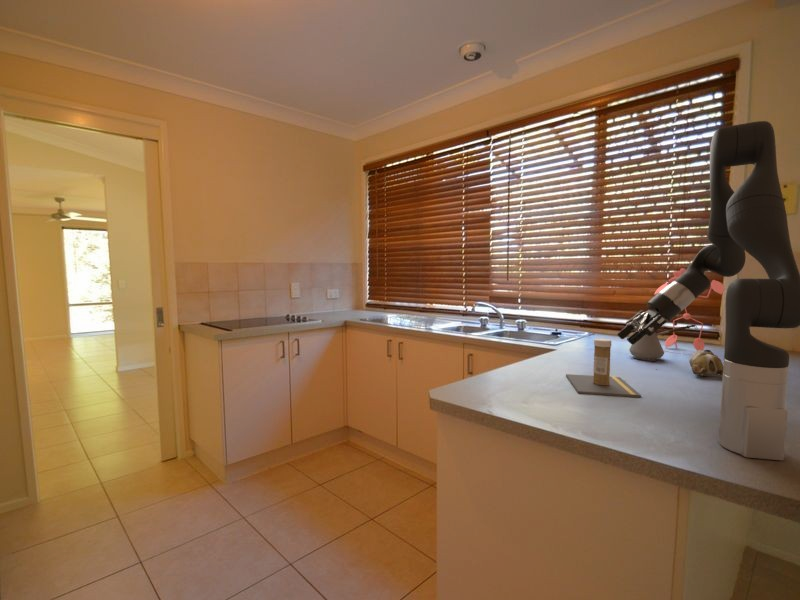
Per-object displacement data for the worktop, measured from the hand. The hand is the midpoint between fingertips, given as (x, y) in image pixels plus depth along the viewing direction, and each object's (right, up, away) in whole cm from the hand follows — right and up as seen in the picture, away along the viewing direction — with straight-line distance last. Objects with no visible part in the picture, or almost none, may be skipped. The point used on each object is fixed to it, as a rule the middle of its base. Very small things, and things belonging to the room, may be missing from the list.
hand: (624, 339), depth 115 cm
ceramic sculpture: (+36, -13, +15) cm, 41 cm away
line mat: (-6, -14, +3) cm, 15 cm away
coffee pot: (+33, -12, +34) cm, 49 cm away
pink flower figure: (+52, -10, +50) cm, 73 cm away
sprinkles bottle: (-6, -14, +3) cm, 15 cm away
